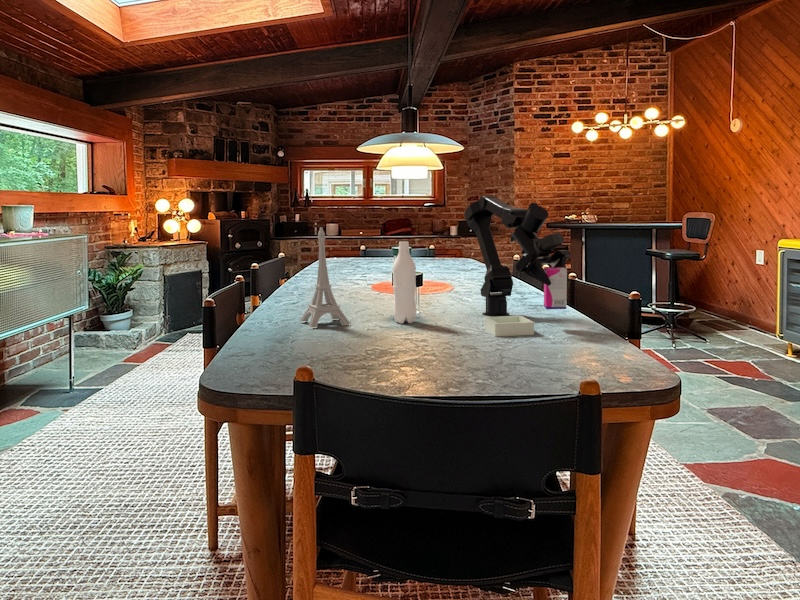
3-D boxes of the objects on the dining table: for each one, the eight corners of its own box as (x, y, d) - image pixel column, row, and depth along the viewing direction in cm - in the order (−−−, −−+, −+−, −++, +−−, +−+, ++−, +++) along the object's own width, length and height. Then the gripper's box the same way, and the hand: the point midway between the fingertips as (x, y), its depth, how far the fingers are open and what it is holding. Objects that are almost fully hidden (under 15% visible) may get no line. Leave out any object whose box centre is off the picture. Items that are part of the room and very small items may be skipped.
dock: (484, 328, 185) (484, 317, 184) (520, 327, 186) (521, 315, 186) (495, 336, 174) (495, 323, 173) (533, 334, 175) (534, 322, 175)
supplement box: (563, 306, 185) (564, 266, 183) (566, 309, 179) (567, 268, 177) (543, 305, 186) (543, 266, 184) (545, 309, 180) (546, 269, 178)
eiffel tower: (298, 322, 201) (294, 227, 196) (338, 319, 206) (335, 226, 202) (309, 330, 189) (305, 228, 184) (352, 325, 194) (349, 227, 190)
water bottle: (414, 324, 194) (413, 242, 190) (391, 324, 195) (389, 242, 191) (418, 320, 201) (417, 240, 197) (396, 319, 202) (394, 241, 198)
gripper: (523, 224, 176) (554, 267, 169) (566, 222, 187) (597, 262, 181) (502, 251, 184) (531, 293, 177) (544, 248, 195) (573, 287, 188)
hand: (559, 283), depth 180 cm, fingers closed on supplement box, 8 cm apart
